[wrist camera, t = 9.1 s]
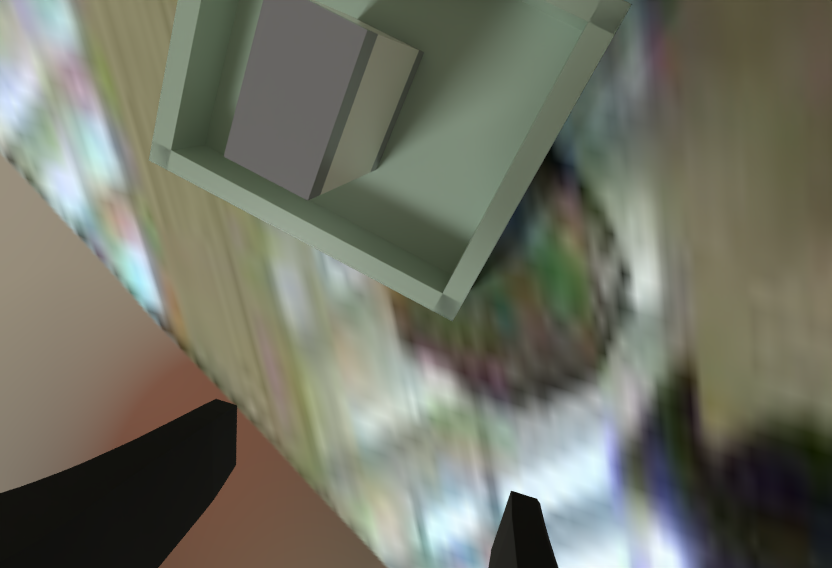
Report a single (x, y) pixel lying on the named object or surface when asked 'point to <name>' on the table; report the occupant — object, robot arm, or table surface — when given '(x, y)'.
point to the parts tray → (400, 130)
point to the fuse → (318, 97)
